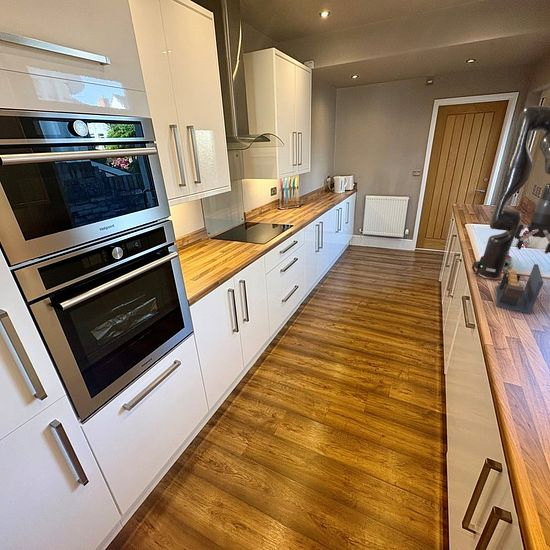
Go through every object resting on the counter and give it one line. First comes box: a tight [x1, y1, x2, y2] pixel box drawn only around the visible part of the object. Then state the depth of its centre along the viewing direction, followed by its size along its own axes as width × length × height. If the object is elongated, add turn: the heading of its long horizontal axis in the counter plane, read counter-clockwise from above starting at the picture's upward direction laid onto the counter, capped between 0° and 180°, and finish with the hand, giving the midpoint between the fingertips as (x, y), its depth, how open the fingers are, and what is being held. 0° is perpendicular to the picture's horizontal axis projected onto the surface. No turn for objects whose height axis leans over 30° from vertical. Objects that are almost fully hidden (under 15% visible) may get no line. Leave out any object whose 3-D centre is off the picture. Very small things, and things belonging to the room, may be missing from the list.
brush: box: [505, 269, 525, 299], centre depth 121 cm, size 22×5×3 cm, turn 145°
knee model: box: [503, 252, 515, 272], centre depth 157 cm, size 9×8×25 cm
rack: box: [495, 263, 544, 315], centre depth 122 cm, size 20×11×14 cm, turn 145°
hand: (532, 250), depth 118 cm, fingers open, 8 cm apart
